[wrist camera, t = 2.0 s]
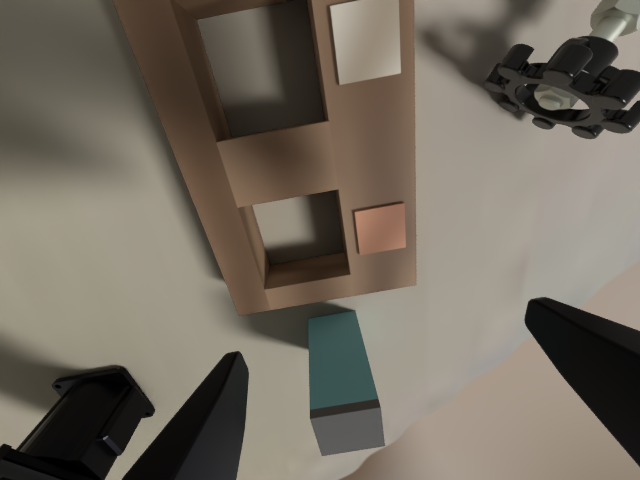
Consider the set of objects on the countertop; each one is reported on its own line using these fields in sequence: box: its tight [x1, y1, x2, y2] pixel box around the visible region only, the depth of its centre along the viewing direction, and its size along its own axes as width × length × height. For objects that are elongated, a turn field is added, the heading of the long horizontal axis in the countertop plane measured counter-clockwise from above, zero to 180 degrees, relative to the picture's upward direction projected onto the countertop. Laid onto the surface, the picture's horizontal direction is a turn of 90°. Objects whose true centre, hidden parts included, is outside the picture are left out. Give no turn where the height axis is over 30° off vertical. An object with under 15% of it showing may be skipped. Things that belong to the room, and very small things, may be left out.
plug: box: [308, 311, 385, 456], centre depth 19 cm, size 4×4×8 cm
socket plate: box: [112, 0, 416, 316], centre depth 15 cm, size 12×18×3 cm, turn 10°
